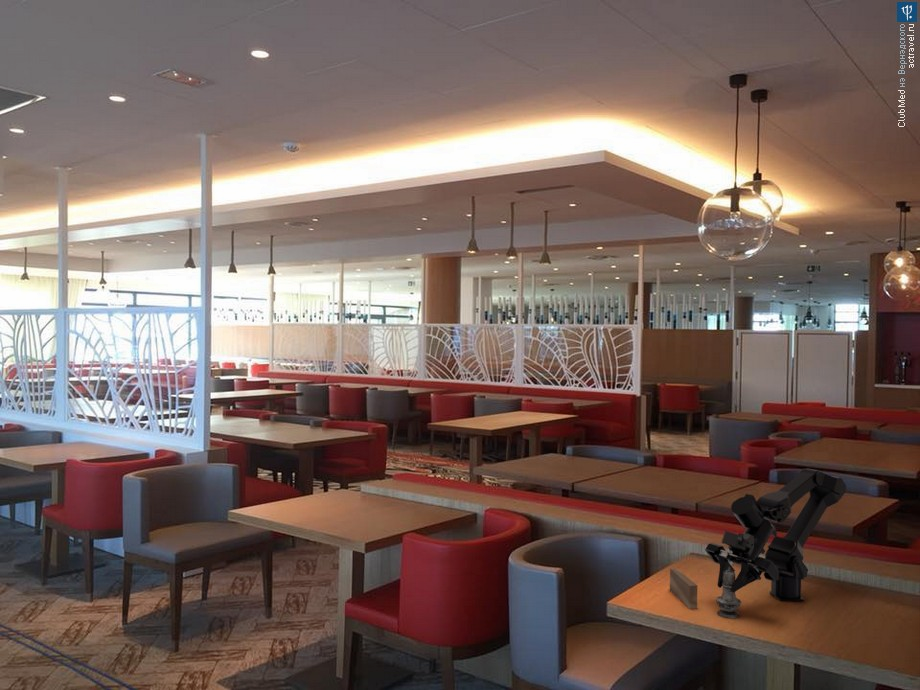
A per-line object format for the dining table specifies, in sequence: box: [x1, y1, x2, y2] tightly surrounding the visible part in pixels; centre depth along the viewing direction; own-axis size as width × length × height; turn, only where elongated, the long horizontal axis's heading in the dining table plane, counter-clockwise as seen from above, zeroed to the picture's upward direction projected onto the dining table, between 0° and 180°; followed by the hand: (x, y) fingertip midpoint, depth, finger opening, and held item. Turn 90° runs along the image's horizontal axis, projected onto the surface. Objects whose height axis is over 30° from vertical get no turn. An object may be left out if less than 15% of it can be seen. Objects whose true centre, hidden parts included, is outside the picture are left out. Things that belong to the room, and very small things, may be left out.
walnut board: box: [669, 568, 698, 610], centre depth 205 cm, size 2×14×6 cm, turn 5°
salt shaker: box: [716, 567, 742, 619], centre depth 195 cm, size 6×6×12 cm
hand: (725, 589), depth 194 cm, fingers closed on salt shaker, 4 cm apart
